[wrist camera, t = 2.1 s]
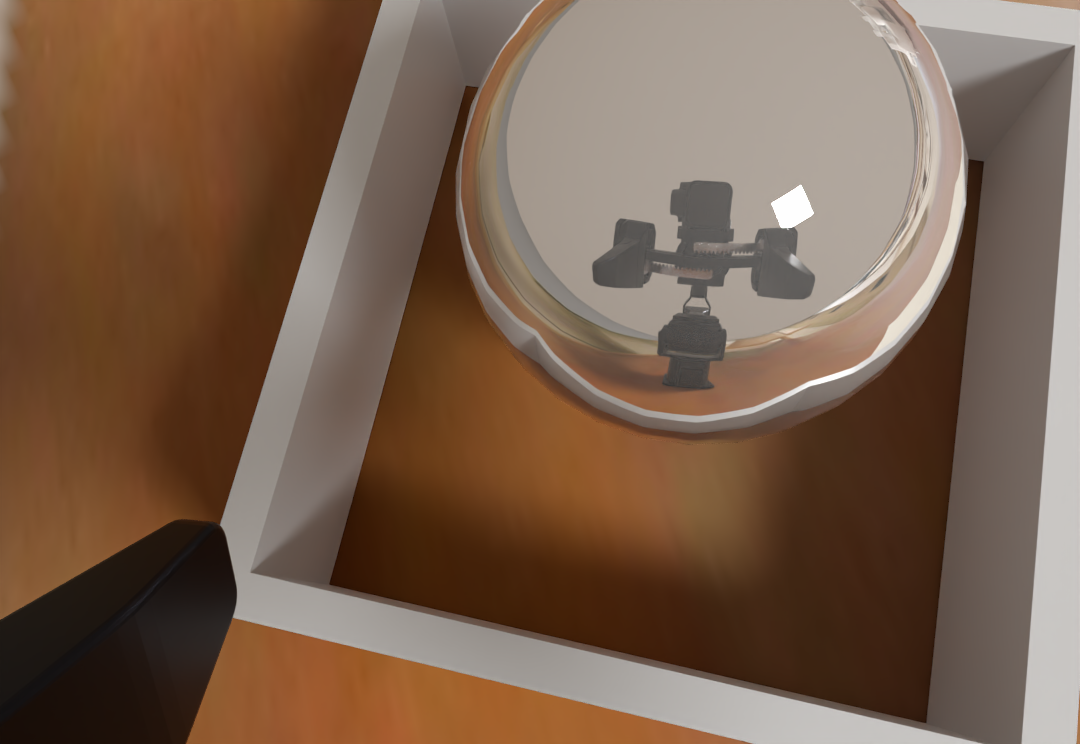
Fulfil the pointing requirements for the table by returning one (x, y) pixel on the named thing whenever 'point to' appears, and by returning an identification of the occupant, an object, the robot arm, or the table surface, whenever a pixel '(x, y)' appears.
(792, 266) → the light bulb
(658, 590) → the table surface
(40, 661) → the robot arm
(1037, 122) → the grey box
